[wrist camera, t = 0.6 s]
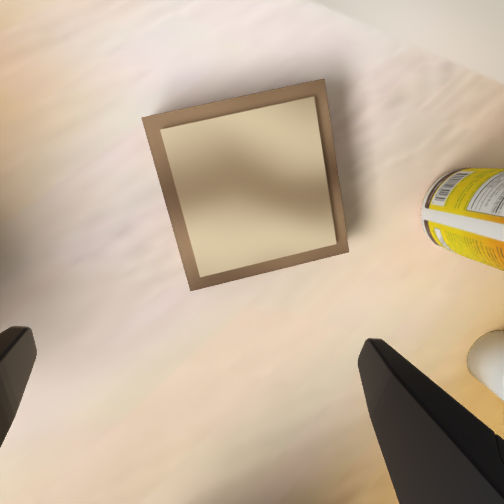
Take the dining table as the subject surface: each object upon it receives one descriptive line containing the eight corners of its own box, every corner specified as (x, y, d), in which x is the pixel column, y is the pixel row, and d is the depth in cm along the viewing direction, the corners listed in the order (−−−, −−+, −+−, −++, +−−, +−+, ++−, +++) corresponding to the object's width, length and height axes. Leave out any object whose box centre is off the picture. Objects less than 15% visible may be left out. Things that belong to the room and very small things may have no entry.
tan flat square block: (337, 244, 24) (351, 253, 22) (191, 280, 23) (190, 293, 21) (313, 86, 21) (326, 77, 19) (147, 121, 20) (140, 116, 18)
